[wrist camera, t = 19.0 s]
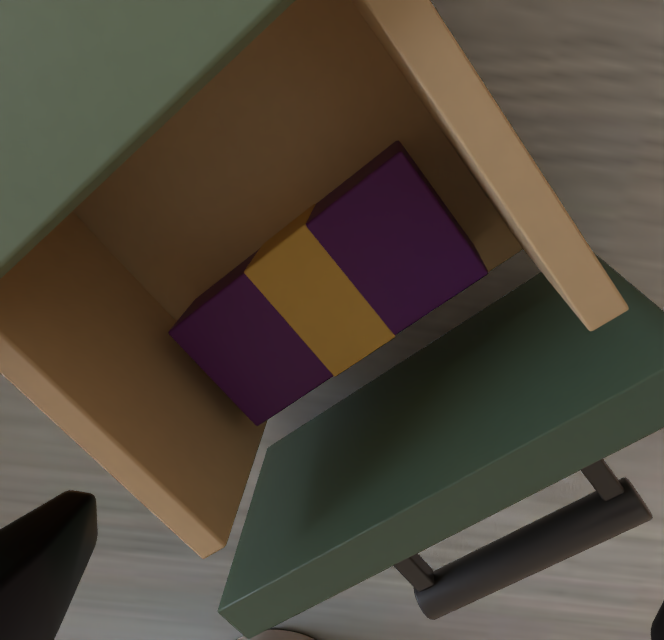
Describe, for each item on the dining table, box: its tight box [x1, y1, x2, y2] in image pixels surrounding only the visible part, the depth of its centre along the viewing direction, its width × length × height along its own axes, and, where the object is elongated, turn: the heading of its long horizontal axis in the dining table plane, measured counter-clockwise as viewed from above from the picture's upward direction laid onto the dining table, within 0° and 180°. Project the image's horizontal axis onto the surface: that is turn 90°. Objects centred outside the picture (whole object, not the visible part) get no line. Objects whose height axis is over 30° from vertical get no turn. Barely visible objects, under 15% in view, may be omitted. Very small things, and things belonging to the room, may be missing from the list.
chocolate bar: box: [168, 140, 488, 426], centre depth 15 cm, size 8×4×2 cm, turn 129°
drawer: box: [0, 0, 664, 639], centre depth 15 cm, size 17×12×7 cm
